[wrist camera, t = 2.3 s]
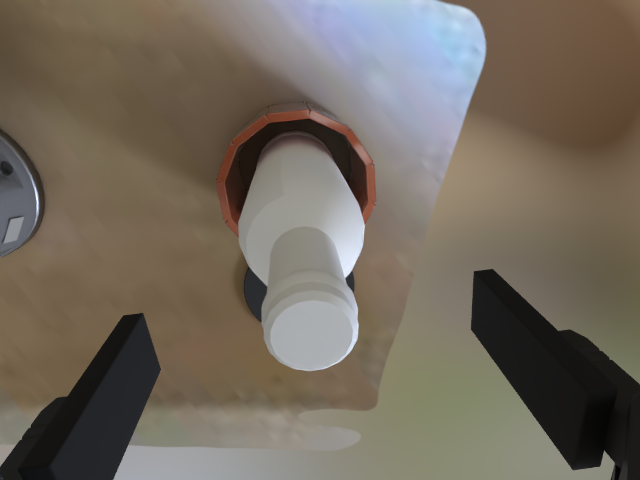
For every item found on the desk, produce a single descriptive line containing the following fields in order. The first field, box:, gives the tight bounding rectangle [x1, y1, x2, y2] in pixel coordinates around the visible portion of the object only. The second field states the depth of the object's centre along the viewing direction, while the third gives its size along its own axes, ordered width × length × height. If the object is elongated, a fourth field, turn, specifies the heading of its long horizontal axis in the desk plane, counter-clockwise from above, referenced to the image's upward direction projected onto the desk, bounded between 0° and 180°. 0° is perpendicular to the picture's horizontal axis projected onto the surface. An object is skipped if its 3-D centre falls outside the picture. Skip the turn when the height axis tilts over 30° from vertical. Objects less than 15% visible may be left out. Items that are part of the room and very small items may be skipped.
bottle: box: [238, 130, 365, 371], centre depth 29 cm, size 8×8×30 cm
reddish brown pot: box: [216, 101, 376, 238], centre depth 38 cm, size 13×13×10 cm
